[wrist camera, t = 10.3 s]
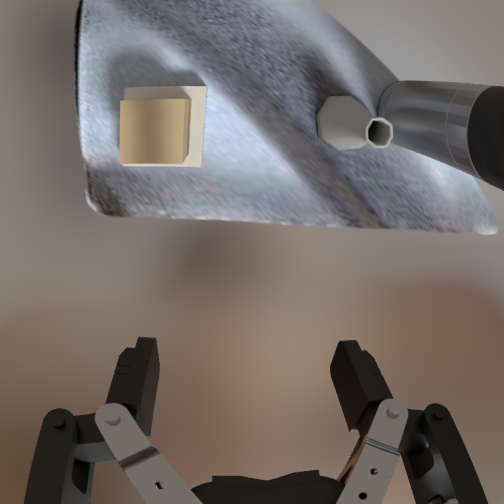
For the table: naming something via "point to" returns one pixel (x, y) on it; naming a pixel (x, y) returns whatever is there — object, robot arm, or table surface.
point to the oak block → (154, 131)
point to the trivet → (197, 116)
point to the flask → (351, 125)
